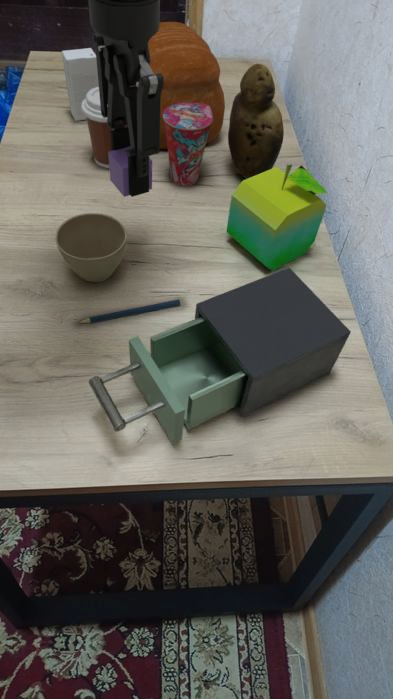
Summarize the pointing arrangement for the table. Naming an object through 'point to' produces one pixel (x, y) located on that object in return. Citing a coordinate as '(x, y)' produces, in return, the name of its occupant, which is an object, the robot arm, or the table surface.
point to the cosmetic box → (79, 77)
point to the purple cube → (123, 170)
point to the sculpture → (255, 124)
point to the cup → (186, 139)
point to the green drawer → (178, 379)
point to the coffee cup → (97, 127)
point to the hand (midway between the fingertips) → (130, 182)
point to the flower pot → (92, 245)
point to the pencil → (132, 311)
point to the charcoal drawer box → (275, 336)
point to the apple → (276, 215)
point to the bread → (186, 73)
